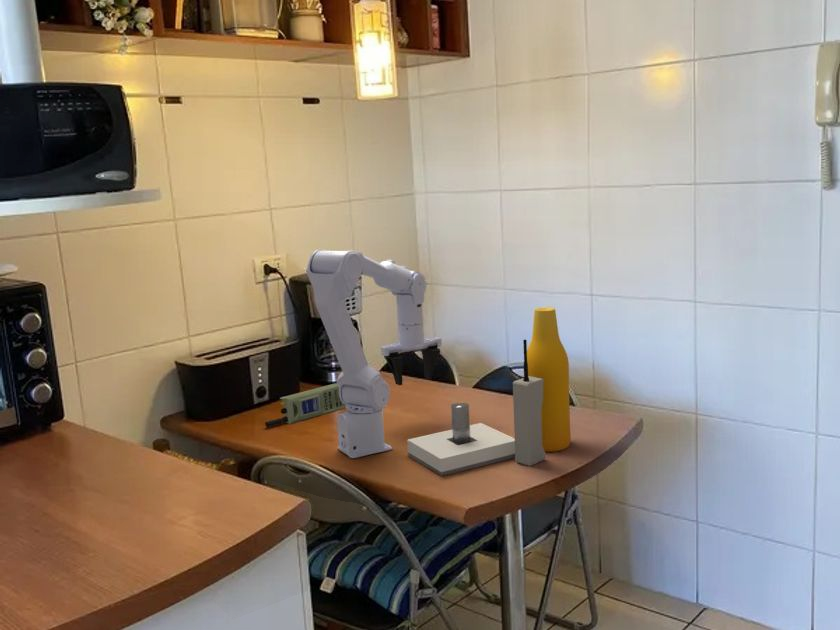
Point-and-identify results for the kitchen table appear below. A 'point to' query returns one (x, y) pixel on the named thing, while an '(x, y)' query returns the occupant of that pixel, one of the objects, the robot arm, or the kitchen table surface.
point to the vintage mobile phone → (528, 417)
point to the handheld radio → (309, 404)
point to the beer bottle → (551, 379)
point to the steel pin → (460, 423)
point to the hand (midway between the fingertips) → (413, 381)
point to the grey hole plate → (461, 449)
